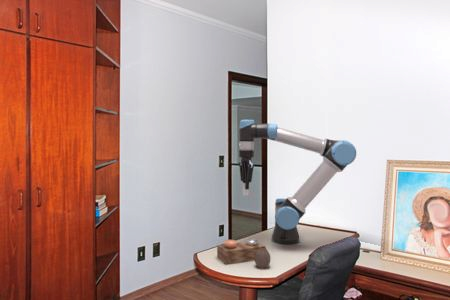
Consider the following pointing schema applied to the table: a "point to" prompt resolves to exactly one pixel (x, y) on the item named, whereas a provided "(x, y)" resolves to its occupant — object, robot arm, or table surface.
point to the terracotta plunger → (230, 243)
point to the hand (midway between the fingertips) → (245, 195)
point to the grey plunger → (251, 242)
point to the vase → (262, 257)
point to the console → (237, 253)
